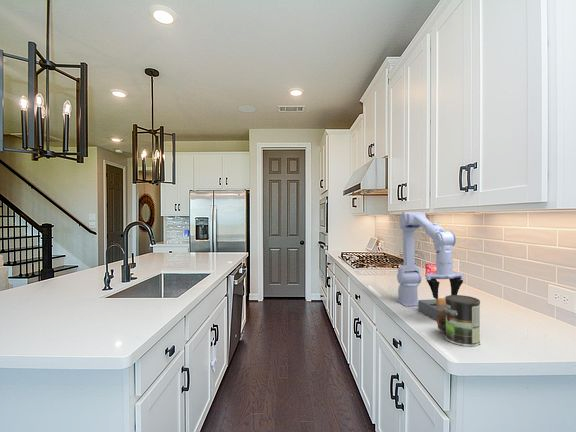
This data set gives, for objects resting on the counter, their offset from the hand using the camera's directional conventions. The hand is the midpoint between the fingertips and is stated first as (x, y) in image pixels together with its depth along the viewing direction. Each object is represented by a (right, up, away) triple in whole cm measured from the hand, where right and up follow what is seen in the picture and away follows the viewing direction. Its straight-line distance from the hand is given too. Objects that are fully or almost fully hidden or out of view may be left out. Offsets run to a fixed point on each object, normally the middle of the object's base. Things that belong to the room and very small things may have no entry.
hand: (444, 297), depth 123 cm
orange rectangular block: (+7, -10, +11) cm, 16 cm away
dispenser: (+2, -10, +10) cm, 15 cm away
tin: (0, -10, -8) cm, 13 cm away
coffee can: (-2, -10, -16) cm, 19 cm away
